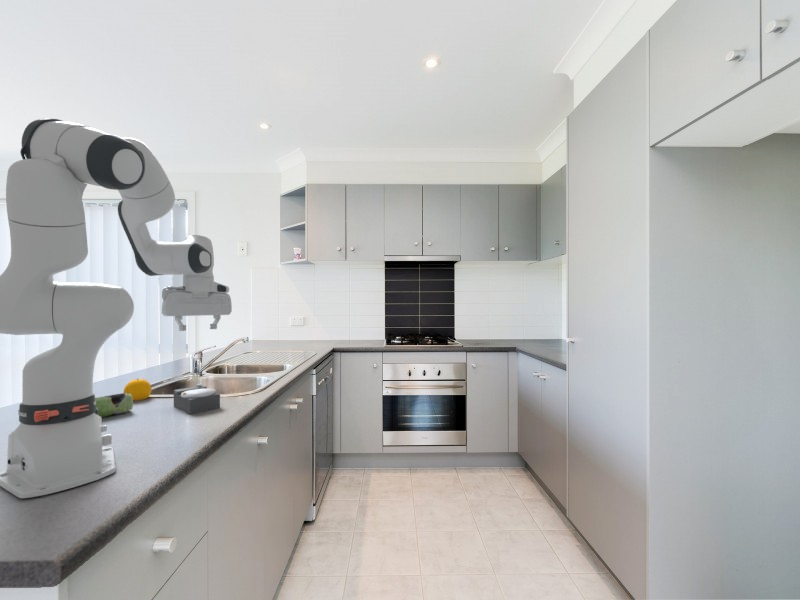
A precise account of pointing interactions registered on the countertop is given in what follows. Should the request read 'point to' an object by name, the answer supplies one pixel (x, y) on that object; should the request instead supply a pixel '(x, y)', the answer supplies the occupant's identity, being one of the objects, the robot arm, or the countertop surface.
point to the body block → (196, 399)
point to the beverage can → (113, 404)
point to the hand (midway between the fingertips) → (198, 329)
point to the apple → (138, 389)
